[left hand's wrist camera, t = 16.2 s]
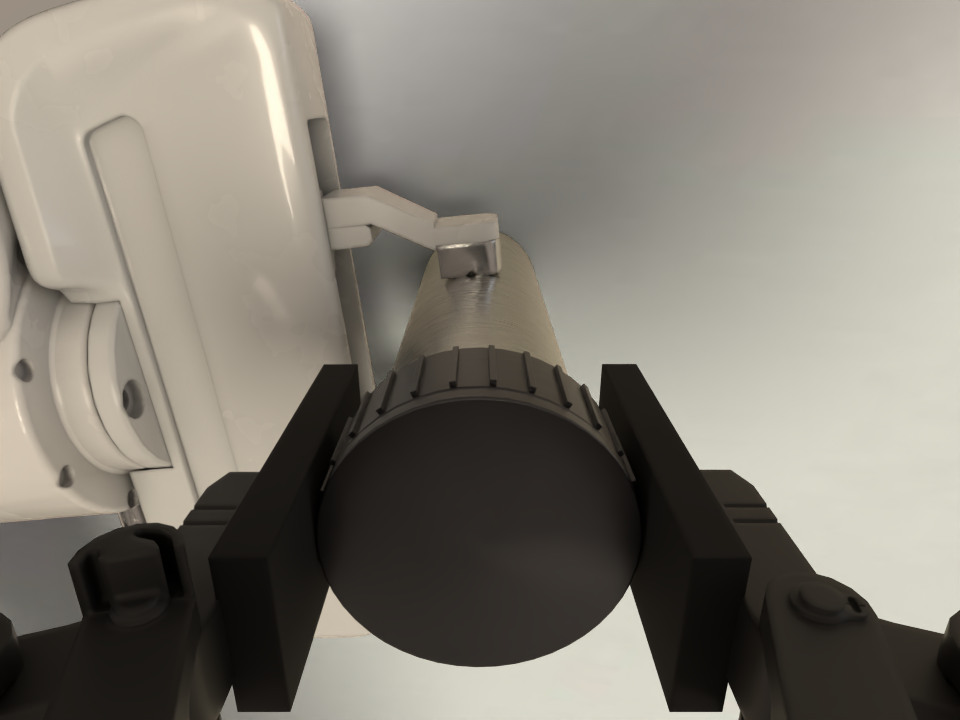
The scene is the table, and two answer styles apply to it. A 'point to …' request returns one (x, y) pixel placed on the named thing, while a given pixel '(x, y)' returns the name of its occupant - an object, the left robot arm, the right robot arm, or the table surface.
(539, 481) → the lid
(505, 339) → the beige long cylinder
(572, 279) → the table surface
